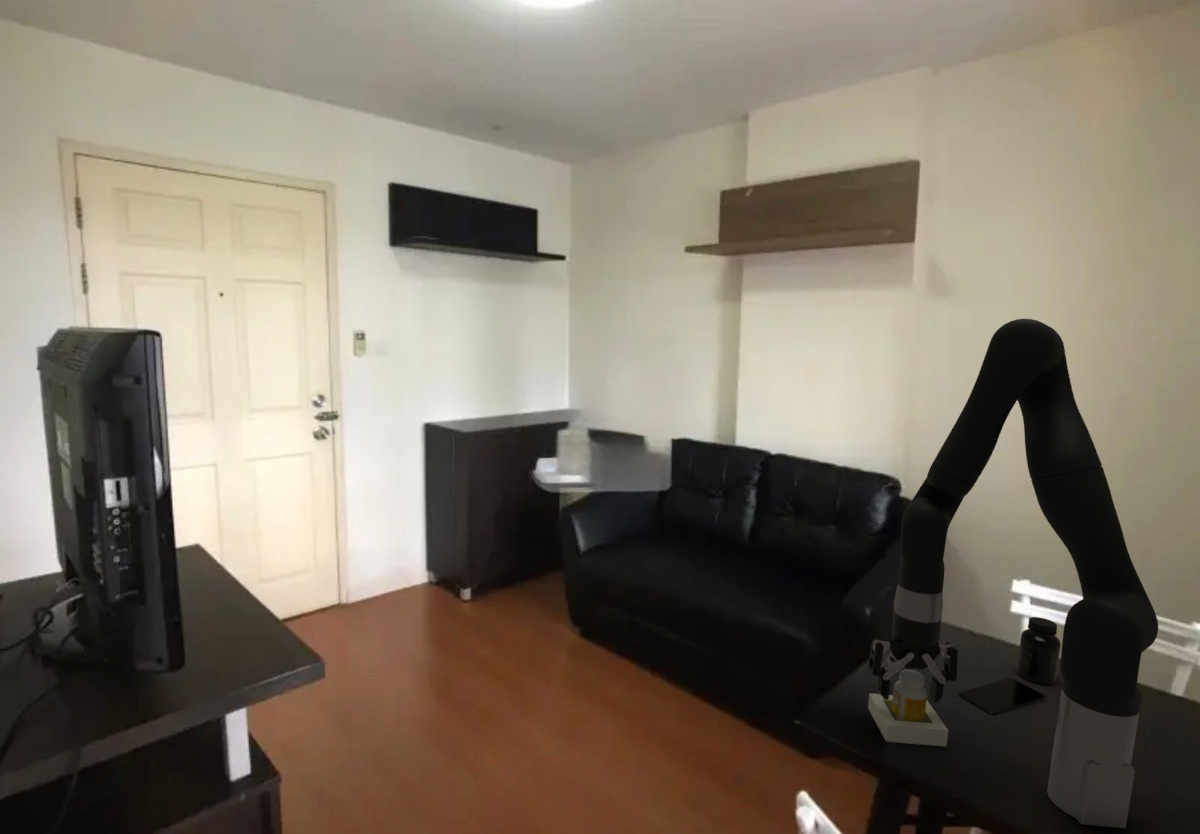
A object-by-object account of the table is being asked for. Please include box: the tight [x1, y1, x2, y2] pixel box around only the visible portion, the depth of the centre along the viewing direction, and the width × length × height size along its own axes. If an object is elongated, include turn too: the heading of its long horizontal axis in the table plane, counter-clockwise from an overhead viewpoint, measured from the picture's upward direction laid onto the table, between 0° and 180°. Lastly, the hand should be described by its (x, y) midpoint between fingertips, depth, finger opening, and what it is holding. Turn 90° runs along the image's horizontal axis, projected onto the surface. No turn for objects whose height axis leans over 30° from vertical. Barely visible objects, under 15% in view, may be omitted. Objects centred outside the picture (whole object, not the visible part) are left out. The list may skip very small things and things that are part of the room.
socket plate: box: [867, 693, 949, 748], centre depth 119 cm, size 10×10×3 cm
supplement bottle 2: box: [1016, 616, 1062, 686], centre depth 137 cm, size 7×7×12 cm
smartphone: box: [957, 677, 1047, 716], centre depth 130 cm, size 8×1×16 cm
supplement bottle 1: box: [891, 669, 928, 723], centre depth 118 cm, size 5×5×10 cm
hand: (909, 698), depth 118 cm, fingers open, 8 cm apart
